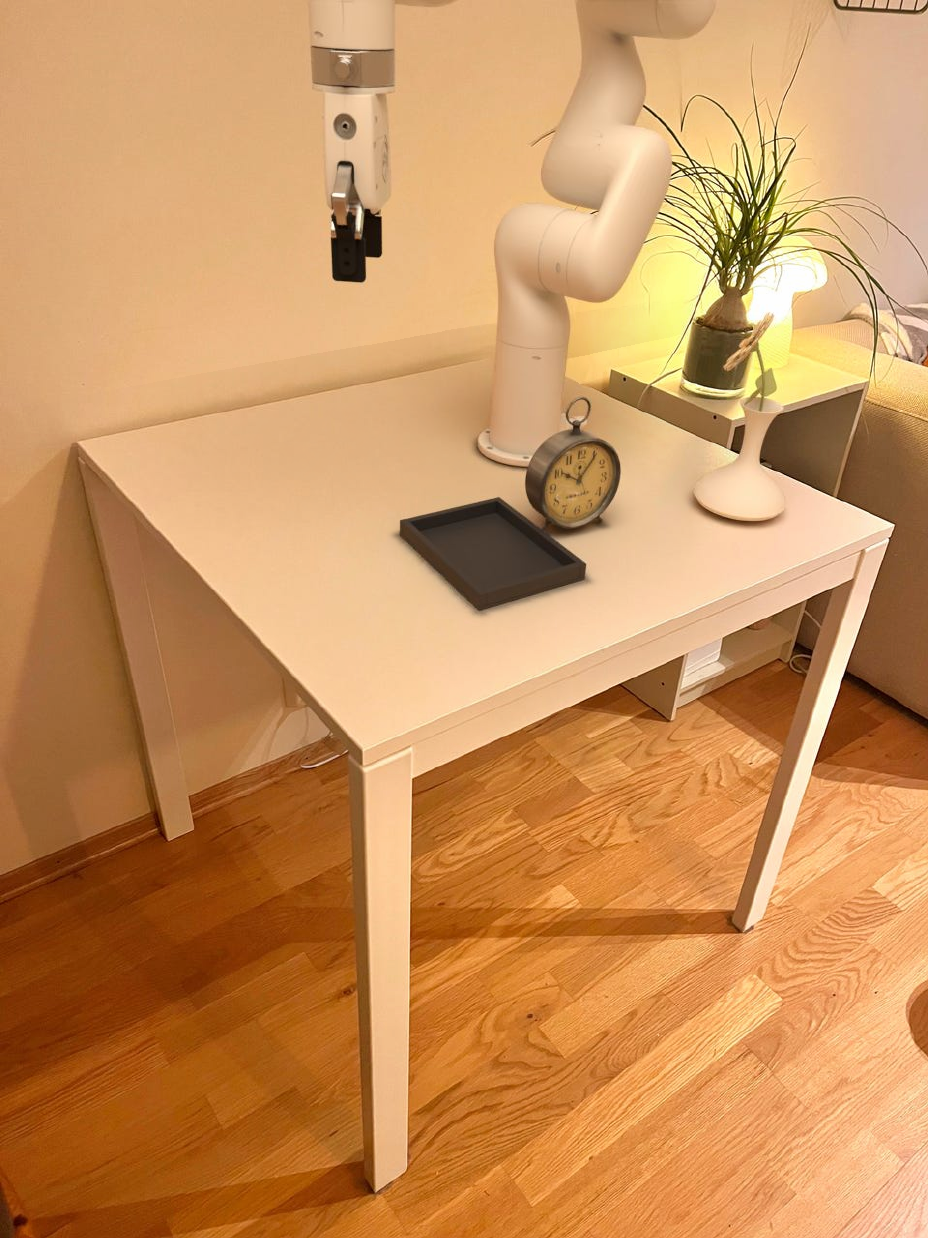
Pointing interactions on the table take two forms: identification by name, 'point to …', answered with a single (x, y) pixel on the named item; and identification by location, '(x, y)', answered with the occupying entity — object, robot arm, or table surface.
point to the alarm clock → (572, 476)
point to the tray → (491, 552)
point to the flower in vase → (747, 452)
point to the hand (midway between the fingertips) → (358, 267)
